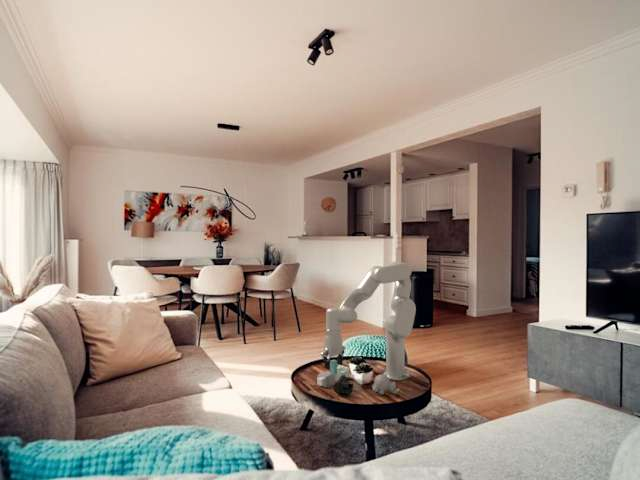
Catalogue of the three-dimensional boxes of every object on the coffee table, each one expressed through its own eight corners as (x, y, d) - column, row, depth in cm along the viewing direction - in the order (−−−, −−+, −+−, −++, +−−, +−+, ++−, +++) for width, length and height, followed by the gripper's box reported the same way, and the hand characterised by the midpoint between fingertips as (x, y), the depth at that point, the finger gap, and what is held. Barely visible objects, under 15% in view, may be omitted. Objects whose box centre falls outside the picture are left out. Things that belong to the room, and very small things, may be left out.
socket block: (349, 378, 201) (349, 367, 201) (342, 381, 197) (342, 370, 197) (339, 375, 206) (339, 364, 206) (331, 378, 201) (331, 367, 201)
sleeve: (334, 383, 194) (334, 373, 194) (325, 387, 189) (325, 376, 189) (327, 381, 197) (327, 370, 197) (317, 384, 192) (317, 374, 192)
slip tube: (337, 379, 197) (337, 360, 197) (321, 385, 188) (321, 366, 189) (333, 377, 199) (333, 359, 199) (317, 384, 191) (317, 364, 191)
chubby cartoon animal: (395, 402, 177) (402, 385, 177) (370, 391, 178) (377, 374, 178) (394, 396, 184) (401, 379, 184) (370, 385, 186) (377, 369, 185)
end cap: (339, 388, 188) (339, 374, 189) (353, 389, 186) (353, 375, 186) (333, 395, 179) (333, 381, 179) (348, 397, 177) (348, 382, 177)
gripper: (339, 328, 206) (338, 361, 206) (316, 334, 194) (316, 368, 193) (350, 331, 201) (350, 364, 201) (327, 337, 188) (327, 372, 188)
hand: (333, 366), depth 197 cm, fingers open, 9 cm apart
